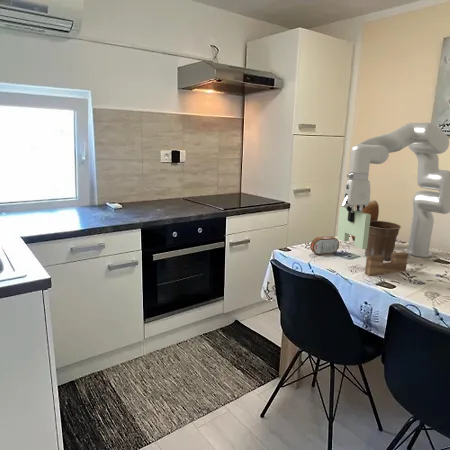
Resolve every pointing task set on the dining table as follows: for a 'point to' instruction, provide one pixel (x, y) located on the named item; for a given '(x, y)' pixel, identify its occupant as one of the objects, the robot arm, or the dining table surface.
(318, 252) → the tin
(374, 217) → the butternut squash
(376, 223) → the plant pot
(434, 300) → the dining table surface
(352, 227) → the green slotted plate
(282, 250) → the dining table surface
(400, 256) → the walnut slotted plate
